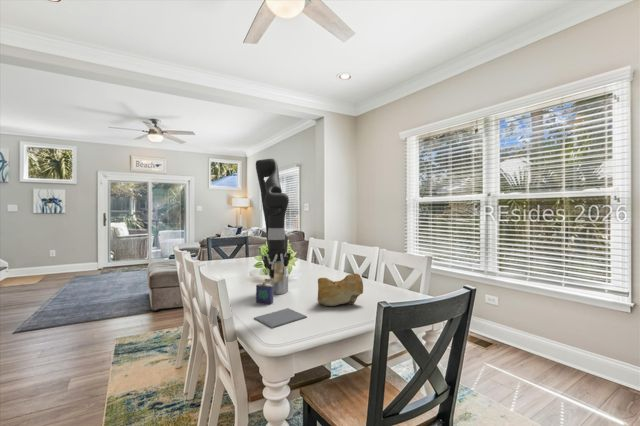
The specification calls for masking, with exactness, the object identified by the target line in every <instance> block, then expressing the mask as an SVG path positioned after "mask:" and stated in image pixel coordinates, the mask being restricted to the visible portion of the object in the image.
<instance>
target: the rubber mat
mask: <svg viewBox="0 0 640 426" xmlns="http://www.w3.org/2000/svg"><path fill="white" fill-rule="evenodd" d="M253 318H254V320H255V321H257V322H259V323H261V324H263V325H265V326H267V327H268V328H270V329H274V328H278V327H281V326H284V325H288V324H290V323H293V322H296V321H301V320H303V319H306V318H308V316H307V315H305V314H302V313H300V312H298V311H295V310H293V309H291V308H289V307H287V308H283V309H280V310H277V311H273V312H268V313H265V314H261V315H258V316H254V317H253Z"/></svg>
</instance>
